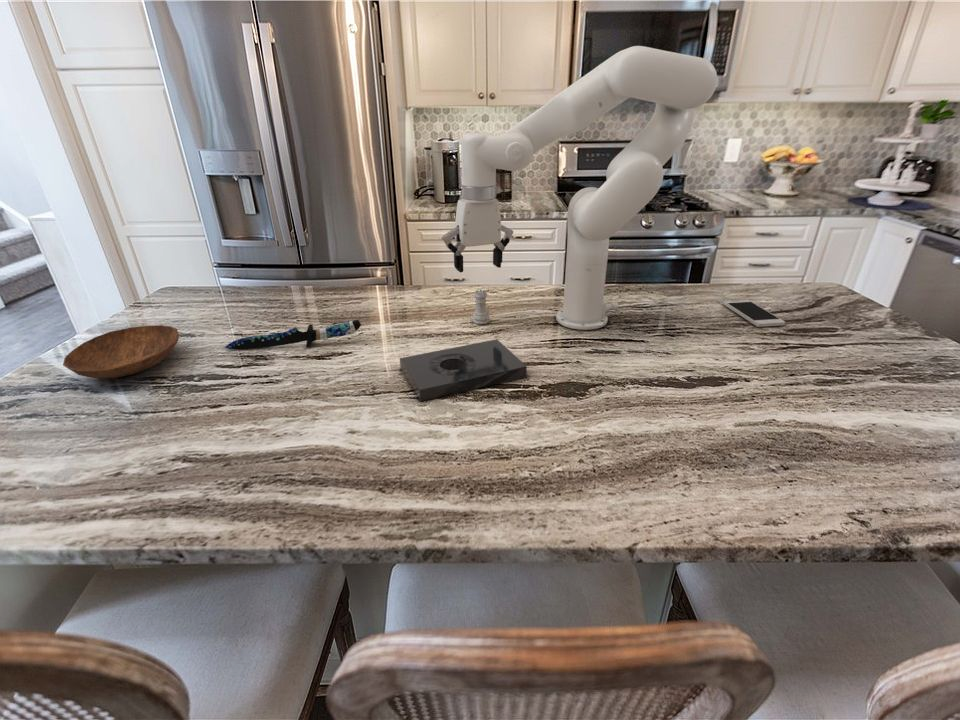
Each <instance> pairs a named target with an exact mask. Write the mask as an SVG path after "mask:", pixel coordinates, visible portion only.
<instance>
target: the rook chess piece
mask: <svg viewBox="0 0 960 720" xmlns="http://www.w3.org/2000/svg"><path fill="white" fill-rule="evenodd" d="M473 297H475V301H474V302H475V310H474V312H473V314H472V322H473V323H474V324H475V325H479V326H481V325H487V324H489V322H490V321H491V319H490V314H489V311H488V310H487V299H486V298H487V297H488V294H487V290H485V289H483V290H482V289H476V290H475V293H474V294H473Z"/></svg>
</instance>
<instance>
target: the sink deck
mask: <svg viewBox="0 0 960 720" xmlns="http://www.w3.org/2000/svg"><path fill="white" fill-rule="evenodd" d="M399 367H400V370H401V372H402V374H403V375H404V377H405V378H406V380H407V382H408V384H409V385H410V387H411V388H412V390H413V392H414V393H415V395H416V397H417V399H418V400H419V402H423V401H429V400H433V399H437V398H442V397H447V396H451V395H455V394H459V393H463V392H464V393H465V392H468V391H473V390H477V389H481V388H485V387H489V386H494V385H499V384H503V383H507V382H512V381H516V380H521V379H526V378H527V372H528V370H527V367H528V366H527V365H526V364H525V363H524V362H522V360H521V359H519V358H518V356H516V355H515V354H514V353H513V352H511V350H510V349H509V348H508V347H507V346H505V345H504V344H503V343H502V342H501V341H500V340H498V339H491V340H485V341H481V342H475V343H471V344H466V345H460V346H455V347H451V348H445V349H440V350H435V351H430V352H425V353H420V354H415V355H410V356H409V355H408V356H404V357H400V358H399Z"/></svg>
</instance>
